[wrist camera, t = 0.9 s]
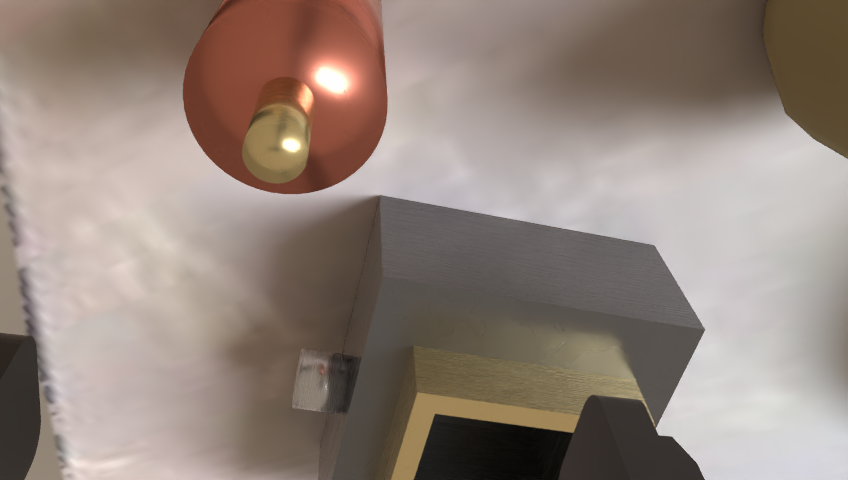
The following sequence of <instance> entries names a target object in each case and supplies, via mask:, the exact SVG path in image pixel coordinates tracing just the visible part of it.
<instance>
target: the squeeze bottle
mask: <svg viewBox="0 0 848 480" xmlns="http://www.w3.org/2000/svg"><path fill="white" fill-rule="evenodd" d="M762 36H763V40H764V44H765V47H766V51H767V55H768V59H769V63H770V66H771V70H772V74H773V77H774V80H775V83H776V86H777V89H778V92H779V95H780V98H781V101H782V104H783V107H784V110H785V113H786V114H787V115H788V116H789V117H790V118H791V119H792V120H794V121H795V122H796V123H797V124H798V125H799V126H800V127H801V128H802V129H803V130H804V131H806V132H807V133H808V134H809V135H810V136H811V137H812V138H813V139H815V140H816V141H818V142H820V143H822V144H823V145H825V146H827V147H828V148H830V149H832V150H834V151H835V152H837V153H839V154H841V155H842V156H844V157H846V158H847V159H848V0H767V3H766V5H765V15H764V24H763V34H762Z"/></svg>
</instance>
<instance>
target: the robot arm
mask: <svg viewBox="0 0 848 480" xmlns="http://www.w3.org/2000/svg"><path fill="white" fill-rule="evenodd" d="M40 425H41V415H40V398H39V382H38V365H37V350H36V343H35V340H34V338H33V337H32V336H25V335H15V334H6V333H0V480H24V479H25V477H26V475H27V473H28V471H29V468H30V467H31V464H32V462H33V459H34V456H35V453H36V449H37V445H38V440H39V435H40ZM559 480H705V479H704V477H703V475H702V473H701V471H700V469H699V467H698V465H697V463H696V462H695V461H694V460H693V459H692V458H691V457H690V455H689V454H688V453H687V452H686V451H685V450H684V449H683V448H682V447H681V446H680V445H679V444H678V443H677V442H676V441H675V440H674V439H673V437H669V436H659V435H658V433H657V431H656V429H655V427H654V424H653V422H652V420H651V418H650V416H649V413H648V411H647V409H646V407H645V405H644V404H643V402H642V401H640V400H638V399H629V398H619V397H609V396H599V395H591V396H589V397H588V399H587V400H586V402H585V404H584V406H583V409H582V411H581V414H580V417H579V420H578V422H577V425H576V428H575V430H574V433H573V436H572V439H571V441H570V444H569V447H568V449H567V452H566V455H565V458H564V460H563V463H562V466H561V470H560V475H559Z"/></svg>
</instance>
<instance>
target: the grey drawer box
mask: <svg viewBox="0 0 848 480" xmlns="http://www.w3.org/2000/svg"><path fill="white" fill-rule="evenodd" d="M704 331H705V329H704V327H703V325H702V324H701V322H700V320H699V319H698V317H697V315H696V314H695V312H694V310H693V309H692V307H691V306H690V304H689V302H688V301H687V299H686V297H685V296H684V294H683V292H682V291H681V289H680V287H679V286H678V284H677V282H676V281H675V279H674V277H673V276H672V274H671V272H670V271H669V269H668V267H667V266H666V264H665V262H664V261H663V259H662V257H661V256H660V254H659V252H658V251H657V249H656V247H655V246H653V245H648V244H642V243H637V242H632V241H626V240H621V239H615V238H610V237H604V236H599V235H593V234H588V233H582V232H577V231H572V230H566V229H561V228H555V227H550V226H544V225H539V224H533V223H528V222H522V221H517V220H511V219H506V218H501V217H495V216H490V215H484V214H479V213H473V212H468V211H462V210H457V209H451V208H446V207H441V206H435V205H430V204H424V203H419V202H413V201H408V200H402V199H397V198H391V197H386V196H380V197H379V201H378V206H377V210H376V214H375V218H374V223H373V227H372V231H371V235H370V239H369V244H368V248H367V252H366V256H365V261H364V265H363V269H362V273H361V277H360V282H359V286H358V290H357V294H356V299H355V303H354V307H353V311H352V315H351V320H350V324H349V328H348V332H347V337H346V341H345V345H344V349H343V353H342V354H338V353H331V352H325V351H318V350H311V349H304V348H302V349H301V352H300V356H299V361H298V366H297V372H296V378H295V384H294V390H293V398H292V408H296V409H303V410H311V411H318V412H326V413H328V417H327V421H326V425H325V429H324V434H323V438H322V442H321V446H320V460H319V476H318V480H559V475H560V470H561V466H562V463H563V460H564V458H565V455H566V452H567V449H568V447H569V444H570V441H571V439H572V436H573V433H574V430H575V428H576V425H577V422H578V420H579V417H580V414H581V411H582V409H583V406H584V404H585V402H586V400H587V399H588V397H589V396H591V395H599V396H609V397H619V398H629V399H638V400H640V401H642V402H643V404H644V405H645V407H646V409H647V411H648V413H649V416H650V418H651V420H652V422H653V424H654V427H655V429H656V427H657V425H658V423H659V421H660V419H661V417H662V415H663V413H664V411H665V409H666V407H667V405H668V403H669V401H670V399H671V397H672V395H673V393H674V391H675V389H676V387H677V385H678V383H679V381H680V379H681V377H682V375H683V373H684V371H685V369H686V367H687V365H688V363H689V361H690V359H691V357H692V355H693V353H694V351H695V349H696V347H697V345H698V343H699V341H700V339H701V337H702V335H703V333H704Z"/></svg>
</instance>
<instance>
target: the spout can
mask: <svg viewBox="0 0 848 480" xmlns="http://www.w3.org/2000/svg"><path fill="white" fill-rule="evenodd" d="M183 100H184V109H185V113H186V117H187V121H188V123H189V126H190V128H191V131H192V133H193V135H194V137H195V139H196V140H197V142H198V144H199V145H200V147H201V148H202V149H203V151H204V152H205V153H206V155H207V156H208V157H209V158H210V159H211V160H212V161H213V162H214V163H215V164H216V165H217V166H218V167H219V168H221V169H222V170H223V171H224V172H226V173H227V174H229V175H230V176H232V177H233V178H235V179H236V180H238V181H240V182H242V183H244V184H246V185H249V186H251V187H254V188H257V189H260V190H264V191H268V192H273V193H281V194H302V193H310V192H314V191H319V190H322V189H325V188H328V187H331V186H333V185H335V184H337V183H339V182H341V181H343V180H345V179H346V178H348V177H349V176H351V175H352V174H353V173H355V172H356V171H357V170H358V169H359V168H360V167H361V166H362V165H363V164H364V163H365V162H366V161H367V160H368V158H369V157H370V156H371V154H372V153H373V151H374V150H375V148H376V147H377V145H378V142H379V140H380V138H381V136H382V133H383V130H384V126H385V123H386V116H387V86H386V71H385V56H384V41H383V26H382V11H381V0H223V2H222V3H221V5H220V7H219V8H218V10H217V12H216V13H215V15H214V17H213V18H212V20H211V22H210V23H209V25H208V27H207V28H206V30H205V32H204V34H203V35H202V37H201V39H200V40H199V42H198V44H197V45H196V47H195V49H194V51H193V53H192V55H191V57H190V59H189V62H188V65H187V68H186V71H185V77H184V83H183Z"/></svg>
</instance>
